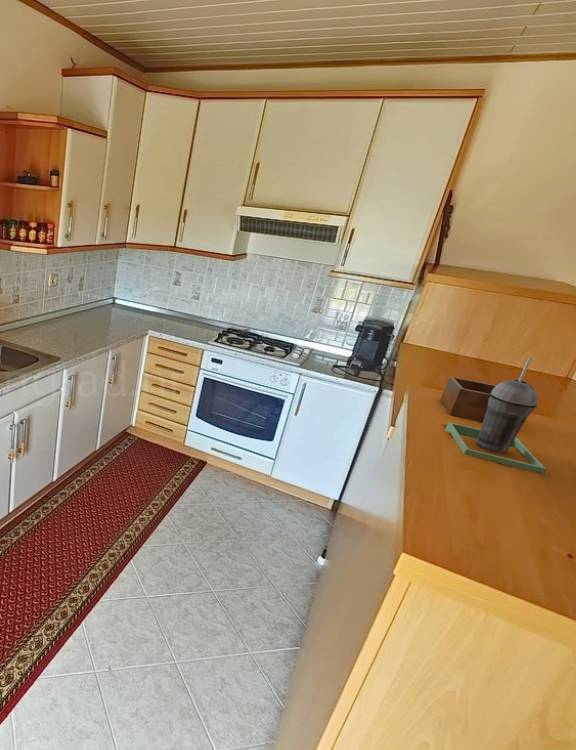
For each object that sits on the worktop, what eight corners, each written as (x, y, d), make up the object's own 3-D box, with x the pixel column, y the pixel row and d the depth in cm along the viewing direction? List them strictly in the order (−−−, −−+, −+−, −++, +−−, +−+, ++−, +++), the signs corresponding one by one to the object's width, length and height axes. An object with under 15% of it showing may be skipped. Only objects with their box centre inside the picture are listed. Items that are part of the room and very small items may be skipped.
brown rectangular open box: (497, 412, 127) (508, 387, 124) (513, 429, 116) (525, 402, 114) (439, 400, 132) (449, 375, 129) (449, 414, 121) (460, 388, 119)
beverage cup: (468, 451, 99) (509, 358, 92) (465, 440, 104) (503, 351, 98) (514, 464, 95) (561, 368, 88) (508, 452, 101) (551, 360, 94)
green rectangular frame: (512, 448, 104) (517, 437, 104) (540, 480, 91) (546, 468, 90) (444, 432, 109) (448, 421, 108) (460, 460, 96) (465, 449, 95)
